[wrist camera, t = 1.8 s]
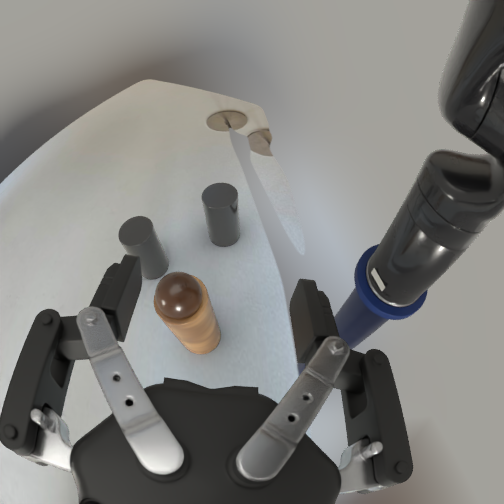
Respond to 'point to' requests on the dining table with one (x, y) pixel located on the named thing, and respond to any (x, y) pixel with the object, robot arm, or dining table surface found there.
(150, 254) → the grey upright cylinder
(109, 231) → the dining table surface
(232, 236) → the dark grey upright cylinder
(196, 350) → the pepper mill
